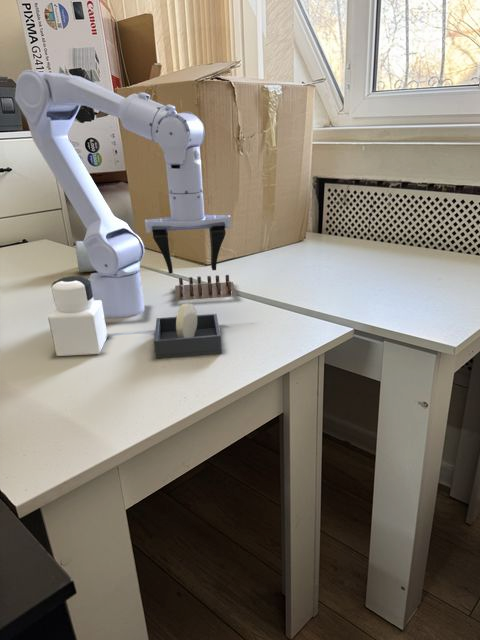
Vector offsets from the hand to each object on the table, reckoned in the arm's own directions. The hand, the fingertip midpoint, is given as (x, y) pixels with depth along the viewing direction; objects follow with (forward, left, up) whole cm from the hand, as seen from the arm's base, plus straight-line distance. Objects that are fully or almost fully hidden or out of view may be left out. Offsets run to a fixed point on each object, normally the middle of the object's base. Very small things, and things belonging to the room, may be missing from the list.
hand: (192, 270), depth 91 cm
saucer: (-2, -9, -10) cm, 13 cm away
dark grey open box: (-2, -9, -10) cm, 14 cm away
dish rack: (+2, +16, -10) cm, 20 cm away
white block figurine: (-20, -7, -11) cm, 23 cm away
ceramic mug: (-25, +42, -7) cm, 49 cm away
